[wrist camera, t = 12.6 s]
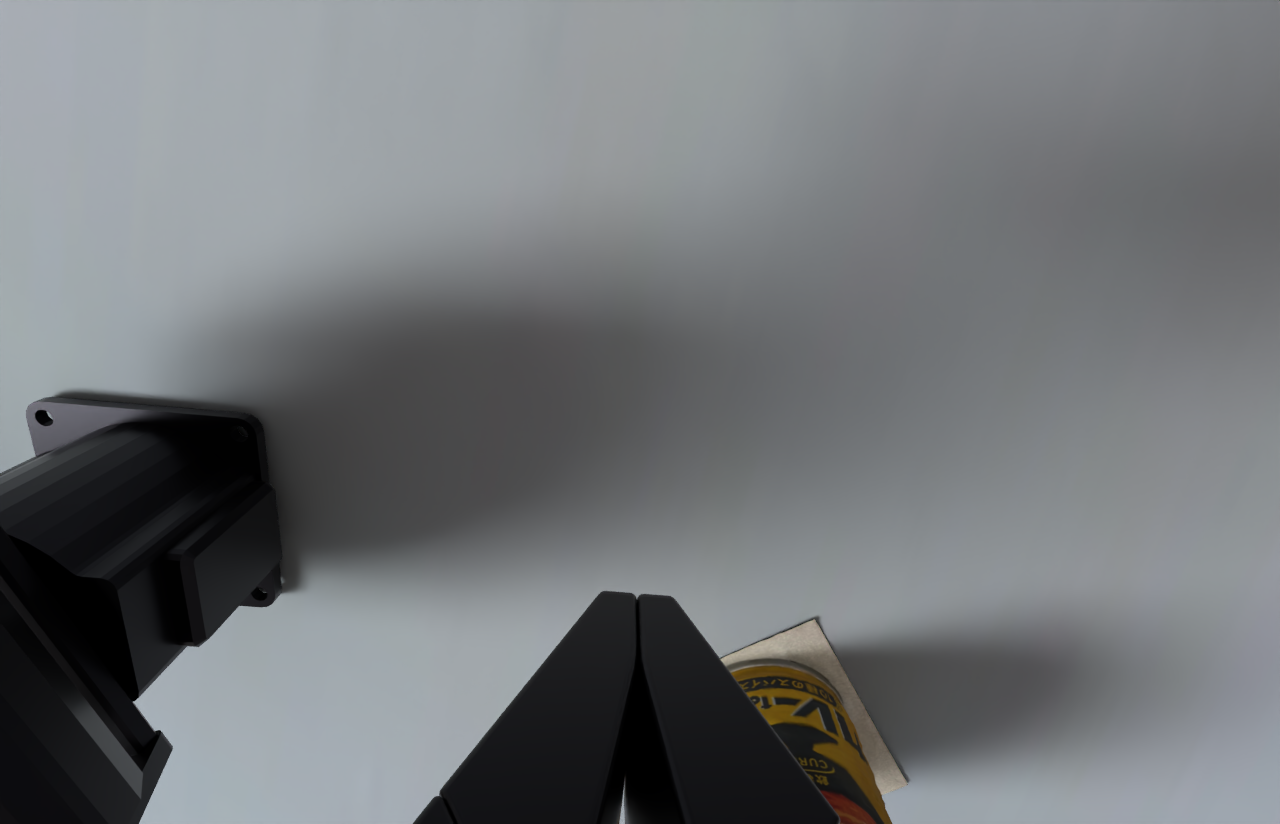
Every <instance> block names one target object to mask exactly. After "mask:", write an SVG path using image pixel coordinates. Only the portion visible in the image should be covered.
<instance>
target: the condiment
mask: <svg viewBox="0 0 1280 824" xmlns="http://www.w3.org/2000/svg"><path fill="white" fill-rule="evenodd" d="M721 661H722V662H723V663H724V665H725V666H726V667H727V669H728V670H729V671H730V673H731V674H732V675H733V677H734V678H735V679H736V681H737V682H738V683H739V685H740V686H741V687H742V688H743V690H744V691H745V692H746V694H747V695H748V696H749V698H750V699H751V700H752V702H753V703H754V704H755V706H756V707H757V708H758V710H759V711H760V712H761V714H762V715H763V716H764V718H765V719H766V720H767V722H768V723H769V724H770V726H771V727H772V728H773V729H774V731H775V732H776V733H777V735H778V736H779V737H780V739H781V740H782V741H783V743H784V744H785V745H786V747H787V748H788V749H789V751H790V752H791V753H792V755H793V756H794V757H795V759H796V760H797V761H798V763H799V764H800V765H801V766H802V768H803V769H804V770H805V772H806V773H807V774H808V776H809V777H810V778H811V780H812V781H813V782H814V784H815V785H816V786H817V788H818V789H819V790H820V792H821V793H822V794H823V796H824V797H825V798H826V800H827V801H828V802H829V804H830V805H831V806H832V807H833V809H834V810H835V811H836V813H837V814H838V815H839V817H840V824H892V822H891V820H890V817H889V815H888V813H887V811H886V809H885V803H884V801H883V799H882V795H883V794H886V793H888V792H891V791H894V790H896V789H899V788H901V787H904V786H906V785H908V784H907V782H906V780H905V778H904V777H903V775H902V773H901V772H900V770H899V768H898V766H897V764H896V762H895V761H894V759H893V757H892V755H891V754H890V752H889V750H888V749H887V747H886V745H885V743H884V742H883V740H882V738H881V736H880V734H879V733H878V731H877V729H876V727H875V725H874V723H873V722H872V720H871V718H870V716H869V715H868V713H867V711H866V709H865V707H864V705H863V704H862V702H861V700H860V698H859V696H858V695H857V693H856V691H855V689H854V688H853V686H852V684H851V682H850V681H849V679H848V677H847V675H846V673H845V672H844V670H843V668H842V666H841V665H840V663H839V661H838V659H837V657H836V656H835V654H834V652H833V650H832V649H831V647H830V645H829V643H828V641H827V640H826V638H825V636H824V634H823V633H822V631H821V629H820V627H819V626H818V624H817V623H816V621H815V619H814V620H812V621H809V622H806V623H803V624H802V625H800V626H798V627H795V628H793V629H791V630H788V631H786V632H784V633H780V634H777V635H775V636H773V637H772V638H770V639H767V640H763V641H760V642H758V643H756V644H754V645H751V646H748V647H746V648H744V649H742V650H740V651H738V652H735V653H732V654H730V655H727V656H725V657H723V658H721Z"/></svg>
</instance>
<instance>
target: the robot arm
mask: <svg viewBox="0 0 1280 824" xmlns="http://www.w3.org/2000/svg"><path fill="white" fill-rule="evenodd" d="M47 411H48V412H49V413H50V414H51V415H52V417H53V420H52V419H51V418H50V417H49V416H48V414H47ZM26 418H27V422H28V426H29V430H30V434H31V438H32V442H33V446H34V450H35V454H36V457H33V458H31V459H29V460H27V461H25V462H23V463H21V464H19V465H17V466H15V467H13V468H11V469H9V470H6V471H4V472H2V473H0V824H139V822H140V819H141V817H142V815H143V813H144V811H145V809H146V806H147V804H148V802H149V800H150V798H151V795H152V793H153V791H154V789H155V787H156V784H157V782H158V780H159V778H160V776H161V773H162V771H163V769H164V767H165V765H166V762H167V760H168V758H169V756H170V754H171V752H172V749H173V746H172V745H171V744H170V742H169V741H168V740H167V738H166V737H165V736H164V734H163V733H162V732H161V731H160V730H158V731H154V729H153V728H152V727H151V725H150V724H149V723H148V721H147V720H146V719H145V717H144V716H143V715H142V713H141V712H140V711H139V709H138V708H137V707H136V705H135V704H134V703H133V701H135V700H136V699H137V698H139V697H140V696H141V694H142V693H143V692H144V691H145V690H146V689H147V688H148V687H149V686H150V685H151V684H152V683H153V682H154V681H155V680H156V679H157V678H158V676H159V675H160V674H161V673H162V672H163V671H164V670H165V669H166V668H167V667H168V666H169V665H170V664H171V663H172V662H173V661H174V659H175V658H176V657H177V656H178V655H179V654H180V653H181V652H182V651H183V650H184V649H185V648H186V647H187V646H193V647H199V646H200V645H202V644H203V643H204V642H205V641H207V640H208V639H209V638H210V637H211V636H212V635H213V634H214V633H215V631H216V630H217V629H218V628H219V627H220V626H221V625H222V624H223V623H224V622H225V620H226V619H227V618H228V617H229V616H230V615H231V614H232V613H233V612H234V611H235V610H236V608H237V607H238V606H251V607H267V606H269V605H271V604H272V603H273V602H274V601H275V600H276V599H277V597H278V596H279V595H280V593H281V589H282V586H281V578H280V569H279V561H280V560H281V559H282V549H281V540H280V531H279V522H278V513H277V504H276V495H275V489H274V488H273V486H272V485H271V483H270V481H269V472H268V463H267V455H266V446H265V437H264V430H263V426H262V424H261V423H260V421H259V420H258V419H257V418H256V417H254V416H252V415H250V414H246V413H238V412H226V411H214V410H202V409H190V408H178V407H166V406H154V405H142V404H130V403H118V402H106V401H94V400H82V399H70V398H58V397H47V398H43V399H41V400H38V401H36V402H33V403H32V404H30V405H29V406H28V408H27V410H26ZM238 426H240V427H243V428H244V429H245V430H246V431H247V434H248V437H246V436H243V435H242V434H241V433H239V430H238ZM258 587H260V588H263V589H264V590H265V591H266V592H267V593H264V592H262V591H261V590H259V588H258ZM623 789H624V810H625V824H840V817H839V815H838V814H837V813H836V811H835V810H834V809H833V807H832V806H831V805H830V804H829V802H828V801H827V800H826V798H825V797H824V796H823V794H822V793H821V792H820V790H819V789H818V788H817V786H816V785H815V784H814V782H813V781H812V780H811V778H810V777H809V776H808V774H807V773H806V772H805V770H804V769H803V768H802V766H801V765H800V764H799V763H798V761H797V760H796V759H795V757H794V756H793V755H792V753H791V752H790V751H789V749H788V748H787V747H786V745H785V744H784V743H783V741H782V740H781V739H780V737H779V736H778V735H777V733H776V732H775V731H774V729H773V728H772V727H771V726H770V724H769V723H768V722H767V720H766V719H765V718H764V716H763V715H762V714H761V712H760V711H759V710H758V708H757V707H756V706H755V704H754V703H753V702H752V700H751V699H750V698H749V696H748V695H747V694H746V692H745V691H744V690H743V688H742V687H741V686H740V685H739V683H738V682H737V681H736V679H735V678H734V677H733V675H732V674H731V673H730V671H729V670H728V669H727V667H726V666H725V665H724V663H723V662H722V661H721V659H720V658H719V657H718V655H717V654H716V653H715V651H714V650H713V649H712V648H711V646H710V645H709V644H708V642H707V641H706V640H705V638H704V637H703V636H702V634H701V633H700V632H699V630H698V629H697V628H696V626H695V625H694V624H693V622H692V621H691V620H690V618H689V617H688V616H687V614H686V613H685V612H684V610H683V609H682V608H681V607H680V605H679V604H678V603H677V601H676V600H675V599H674V598H673V597H671V596H664V595H651V594H641V595H639V597H638V598H637V599H636V596H635V595H634V594H632V593H625V592H612V591H603V592H601V593H600V594H599V595H598V596H597V597H596V598H595V600H594V601H593V602H592V603H591V604H590V606H589V607H588V608H587V609H586V611H585V612H584V613H583V614H582V616H581V617H580V618H579V619H578V621H577V622H576V623H575V624H574V625H573V627H572V628H571V629H570V630H569V632H568V633H567V634H566V635H565V637H564V638H563V639H562V640H561V642H560V643H559V644H558V645H557V647H556V648H555V649H554V650H553V651H552V653H551V654H550V655H549V656H548V658H547V659H546V660H545V661H544V663H543V664H542V665H541V666H540V668H539V669H538V670H537V671H536V672H535V674H534V675H533V676H532V677H531V679H530V680H529V681H528V682H527V684H526V685H525V686H524V687H523V689H522V690H521V691H520V692H519V693H518V695H517V696H516V697H515V698H514V700H513V701H512V702H511V703H510V705H509V706H508V707H507V708H506V710H505V711H504V712H503V713H502V714H501V716H500V717H499V718H498V719H497V721H496V722H495V723H494V724H493V726H492V727H491V728H490V729H489V731H488V732H487V733H486V734H485V735H484V737H483V738H482V739H481V740H480V742H479V743H478V744H477V745H476V747H475V748H474V749H473V750H472V752H471V753H470V754H469V755H468V756H467V758H466V759H465V760H464V761H463V763H462V764H461V765H460V766H459V768H458V769H457V770H456V771H455V773H454V774H453V775H452V776H451V777H450V779H449V780H448V781H447V782H446V784H445V785H444V786H443V787H442V789H441V790H440V793H439V796H436V797H434V798H433V799H432V800H431V802H430V803H429V804H428V805H427V807H426V808H425V809H424V810H423V811H422V813H421V814H420V815H419V816H418V818H417V819H416V820H415V821H414V823H413V824H619V820H620V813H621V806H622V798H623Z"/></svg>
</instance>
